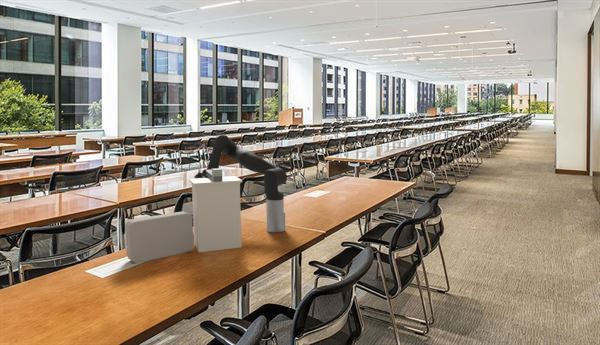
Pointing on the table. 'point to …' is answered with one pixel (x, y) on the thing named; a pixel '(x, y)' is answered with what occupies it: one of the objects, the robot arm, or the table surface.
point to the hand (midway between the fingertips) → (210, 170)
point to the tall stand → (216, 213)
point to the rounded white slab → (158, 236)
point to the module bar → (214, 174)
